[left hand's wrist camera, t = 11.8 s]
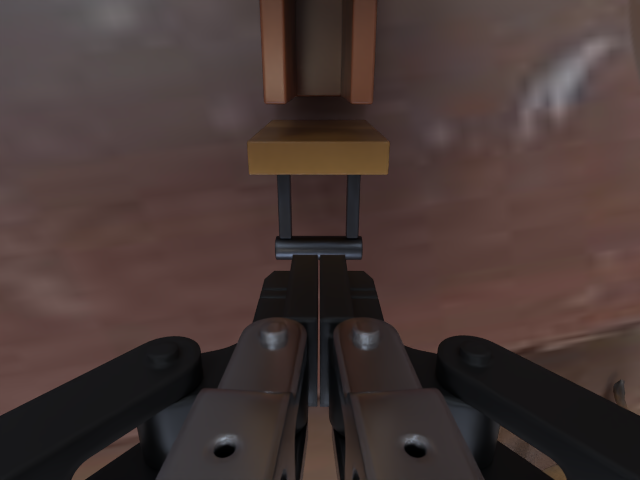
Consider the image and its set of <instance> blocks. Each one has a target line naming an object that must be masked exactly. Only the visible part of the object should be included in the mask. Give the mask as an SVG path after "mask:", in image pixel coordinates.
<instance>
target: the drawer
mask: <svg viewBox="0 0 640 480" xmlns="http://www.w3.org/2000/svg"><path fill="white" fill-rule="evenodd" d="M259 2H260V24H261V46H262V68H263V91H264V102H265V104H286V103H287V102H289V101H290V100H292V99H293V98H294V97H296V96H342V97H343V98H344V99H346V100H347V101H348V102H350V103H351V104H372V102H373V90H374V67H375V44H376V21H377V0H259ZM247 150H248V166H249V174H250V175H277V185H278V212H279V236H276V240H275V256H276V259H277V260H292V257H293V255H318V260H320V255H345V258H346V260H361V259H362V237H361V236H358V230H359V202H360V175H387V174H388V166H389V150H390V142H389V141H388V140H387V139H386V138H385V137H384V136H383V135H382V134H380V133H379V132H378V131H377V130H376V129H375V128H374V127H373V126H371V125H370V124H369V123H368V122H367V121H366V120H272V121H271V122H270V123H269V124H267V125H266V126H265V127H264V128H263V129H262V130H260V131H259V132H258V133H257V134H256V135H255V136H253V137H252V138H251V139H250V140H249V141H248V142H247ZM291 175H347V196H346V236H292V209H291Z"/></svg>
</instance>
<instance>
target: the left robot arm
mask: <svg viewBox="0 0 640 480" xmlns="http://www.w3.org/2000/svg"><path fill="white" fill-rule="evenodd" d="M317 369H318V255H293V257H292V263H291V270H290V271H274V272H273V273H271V274H270V275H269V276H268V277H267V278H265V280H264V284H263V287H262V291H261V294H260V299H259V302H258V305H257V309H256V312H255V316H254V320H253V323H252V324H250V325H249V326H247V327H246V328H245V329H244V330H243V332H242V334H241V336H240V338H239V341H238V343H236V344H234V345H232V346H230V347H227V348H224V349H220V350H216V351H211V352H206V353H201V350H200V347H199V345H198V344H197V343H196V342H195V341H194V340H192V339H190V338H186V337H180V336H171V337H163V338H159V339H155V340H152V341H149V342H147V343H145V344H143V345H141V346H139V347H137V348H135V349H133V350H131V351H129V352H127V353H125V354H123V355H121V356H119V357H117V358H115V359H113V360H111V361H109V362H107V363H105V364H103V365H101V366H99V367H97V368H95V369H93V370H91V371H89V372H87V373H85V374H83V375H81V376H79V377H77V378H75V379H73V380H71V381H69V382H67V383H65V384H63V385H61V386H59V387H57V388H55V389H53V390H51V391H49V392H47V393H45V394H43V395H41V396H39V397H37V398H35V399H33V400H31V401H29V402H27V403H25V404H23V405H21V406H19V407H17V408H15V409H13V410H11V411H9V412H7V413H5V414H3V415H1V416H0V480H71V479H72V477H73V475H74V473H75V472H76V470H77V469H78V468H79V466H80V465H81V464H82V463H83V462H85V461H86V460H87V459H88V458H90V457H91V456H93V455H94V454H96V453H98V452H99V451H101V450H102V449H104V448H105V447H107V446H108V445H110V444H111V443H113V442H114V441H116V440H118V439H119V438H121V437H122V436H124V435H125V434H127V433H128V432H130V431H131V430H133V429H134V428H136V427H137V430H138V435H139V440H140V443H138V444H137V445H135V446H134V447H132V448H131V449H129V450H128V451H127V452H125V453H124V454H122V455H121V456H119V457H118V458H116V459H115V460H113V461H112V462H110V463H109V464H107V465H106V466H105V467H103V468H102V469H100V470H99V471H97V472H96V473H94V474H93V475H91V476H90V477H88V478H87V479H85V480H303V472H304V464H305V456H306V449H307V441H308V406H317ZM320 407H329V419H330V422H331V425H332V441H333V449H334V456H335V464H336V472H337V480H554V479H553V478H552V477H550V476H549V475H547V474H546V473H544V472H543V471H541V470H540V469H538V468H537V467H535V466H534V465H533V464H531V463H530V462H528V461H527V460H525V459H524V458H522V457H521V456H519V455H518V454H516V453H515V452H513V451H512V450H511V449H509V448H508V447H506V446H505V445H503V444H502V443H500V442H499V441H497V438H498V433H499V428H500V425H501V426H502V427H504V428H506V429H507V430H509V431H510V432H512V433H513V434H515V435H516V436H518V437H519V438H521V439H522V440H524V441H526V442H527V443H529V444H530V445H532V446H533V447H535V448H536V449H538V450H539V451H541V452H542V453H544V454H546V455H547V456H549V457H550V458H551V459H552V460H554V461H555V462H556V463H557V464H558V465H559V467H560V468H561V469H562V471H563V472H564V474H565V476H566V479H567V480H640V416H639V415H637V414H635V413H633V412H631V411H629V410H627V409H625V408H623V407H621V406H619V405H617V404H615V403H613V402H611V401H609V400H607V399H605V398H603V397H601V396H599V395H597V394H595V393H593V392H591V391H589V390H587V389H585V388H583V387H581V386H579V385H577V384H575V383H573V382H571V381H569V380H567V379H565V378H563V377H561V376H559V375H557V374H555V373H553V372H551V371H549V370H547V369H545V368H543V367H541V366H539V365H537V364H535V363H533V362H531V361H529V360H527V359H525V358H523V357H521V356H519V355H517V354H515V353H513V352H511V351H509V350H507V349H505V348H503V347H501V346H499V345H497V344H495V343H493V342H491V341H489V340H486V339H483V338H479V337H474V336H465V335H464V336H453V337H449V338H447V339H445V340H444V341H442V342H441V343H440V344H439V347H438V353H437V354H435V353H430V352H425V351H420V350H416V349H412V348H410V347H407V346H405V345H403V343H402V341H401V338H400V336H399V334H398V332H397V330H396V329H395V328H394V327H393V326H391V325H390V324H388V323H386V322H384V319H383V315H382V311H381V307H380V304H379V300H378V296H377V292H376V290H375V285H374V281H373V279H372V278H371V277H370V276H369V275H367V274H366V273H365V272H364V271H347V265H346V258H345V255H320Z"/></svg>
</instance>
